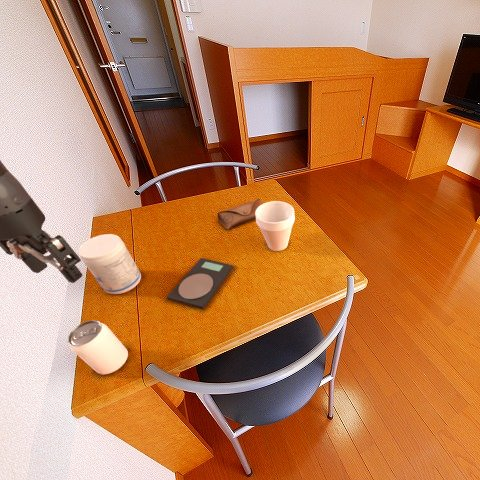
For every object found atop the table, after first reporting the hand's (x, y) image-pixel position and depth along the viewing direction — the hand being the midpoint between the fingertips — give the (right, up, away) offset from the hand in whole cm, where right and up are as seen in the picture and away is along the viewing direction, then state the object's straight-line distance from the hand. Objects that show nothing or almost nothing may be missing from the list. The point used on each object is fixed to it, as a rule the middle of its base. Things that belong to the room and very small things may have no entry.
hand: (58, 274), depth 53 cm
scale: (+16, -6, +28) cm, 32 cm away
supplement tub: (-7, -6, +27) cm, 28 cm away
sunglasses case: (+21, +15, +53) cm, 59 cm away
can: (+3, -21, +10) cm, 23 cm away
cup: (+36, +5, +42) cm, 55 cm away
